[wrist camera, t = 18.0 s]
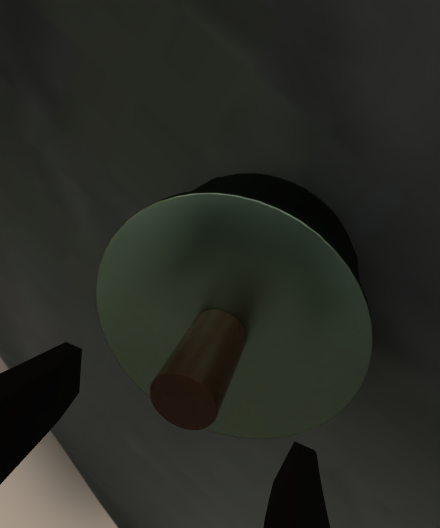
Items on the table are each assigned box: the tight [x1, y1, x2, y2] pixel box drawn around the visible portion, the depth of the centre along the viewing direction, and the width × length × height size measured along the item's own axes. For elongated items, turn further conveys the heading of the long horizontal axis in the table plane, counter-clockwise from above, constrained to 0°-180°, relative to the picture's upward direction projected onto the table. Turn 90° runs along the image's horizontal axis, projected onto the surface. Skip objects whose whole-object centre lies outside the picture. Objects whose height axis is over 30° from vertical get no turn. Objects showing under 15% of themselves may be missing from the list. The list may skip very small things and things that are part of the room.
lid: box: [96, 190, 373, 439], centre depth 14 cm, size 12×12×5 cm
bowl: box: [193, 174, 359, 279], centre depth 18 cm, size 11×11×5 cm
